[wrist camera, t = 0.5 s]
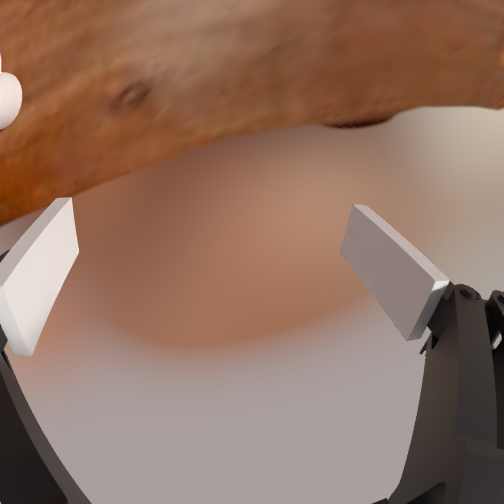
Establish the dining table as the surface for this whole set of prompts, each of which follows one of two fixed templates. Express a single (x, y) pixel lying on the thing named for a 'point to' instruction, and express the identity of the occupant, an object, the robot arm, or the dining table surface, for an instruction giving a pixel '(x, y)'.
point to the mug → (9, 98)
